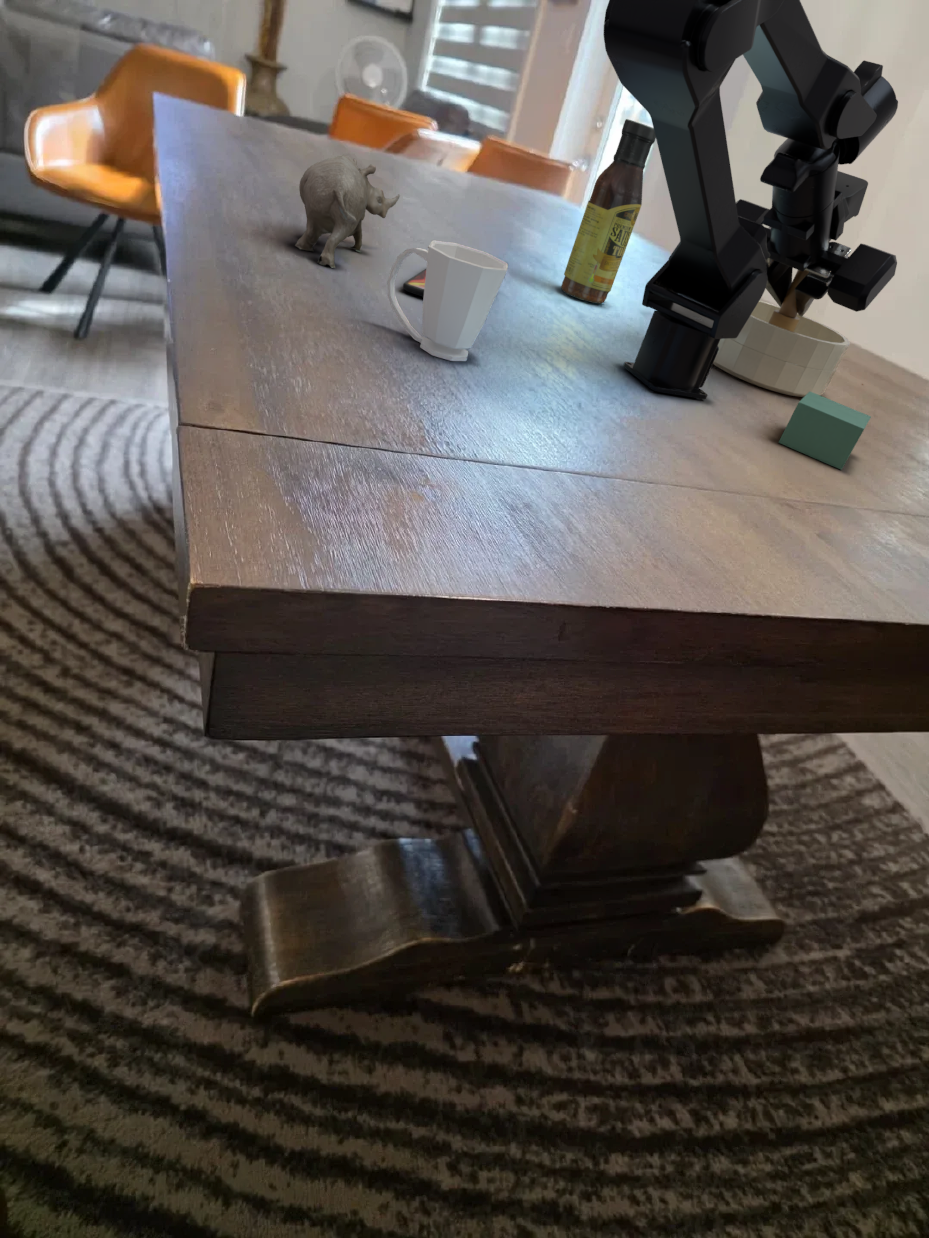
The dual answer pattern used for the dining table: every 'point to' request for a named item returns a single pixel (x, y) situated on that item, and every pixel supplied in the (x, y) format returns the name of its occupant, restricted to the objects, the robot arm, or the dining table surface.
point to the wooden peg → (788, 306)
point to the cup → (451, 296)
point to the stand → (824, 429)
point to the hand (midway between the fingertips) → (794, 309)
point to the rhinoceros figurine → (338, 203)
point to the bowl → (783, 354)
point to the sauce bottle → (609, 218)
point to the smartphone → (416, 284)
